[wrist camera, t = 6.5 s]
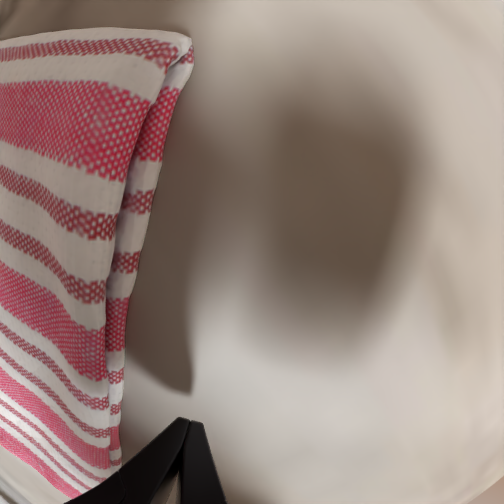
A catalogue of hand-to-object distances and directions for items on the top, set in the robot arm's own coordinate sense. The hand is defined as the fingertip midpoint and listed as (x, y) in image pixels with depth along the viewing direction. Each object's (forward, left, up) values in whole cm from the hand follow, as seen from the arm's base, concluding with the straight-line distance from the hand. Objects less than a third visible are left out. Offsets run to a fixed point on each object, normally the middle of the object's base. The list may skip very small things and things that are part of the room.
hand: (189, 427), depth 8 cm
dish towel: (+1, +11, -2) cm, 11 cm away
